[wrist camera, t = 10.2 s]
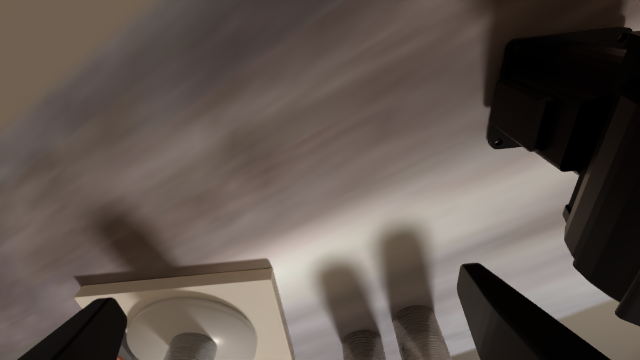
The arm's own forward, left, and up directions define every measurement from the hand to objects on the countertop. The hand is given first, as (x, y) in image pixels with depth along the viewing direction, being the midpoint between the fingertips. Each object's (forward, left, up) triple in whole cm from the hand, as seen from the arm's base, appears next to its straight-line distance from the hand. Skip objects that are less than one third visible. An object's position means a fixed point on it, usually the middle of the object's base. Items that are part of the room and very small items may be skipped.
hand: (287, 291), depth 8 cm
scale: (+12, +19, -13) cm, 26 cm away
